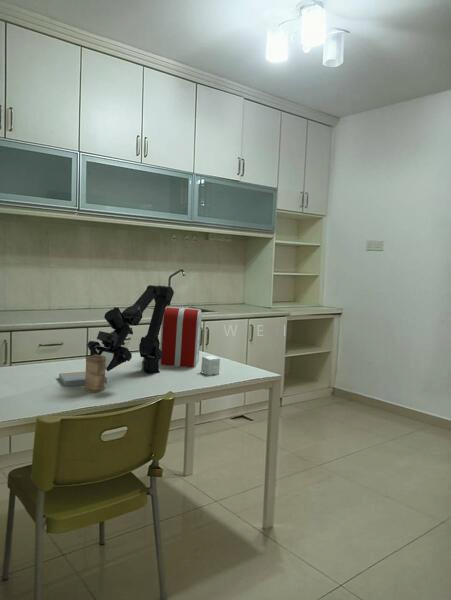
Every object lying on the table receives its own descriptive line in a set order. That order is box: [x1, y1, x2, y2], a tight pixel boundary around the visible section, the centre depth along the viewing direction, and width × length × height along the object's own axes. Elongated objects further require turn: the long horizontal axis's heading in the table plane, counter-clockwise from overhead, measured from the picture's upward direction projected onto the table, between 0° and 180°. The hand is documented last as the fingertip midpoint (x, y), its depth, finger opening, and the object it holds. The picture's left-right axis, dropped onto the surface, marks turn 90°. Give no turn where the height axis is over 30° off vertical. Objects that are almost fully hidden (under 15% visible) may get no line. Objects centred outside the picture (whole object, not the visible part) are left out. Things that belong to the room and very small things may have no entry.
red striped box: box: [159, 306, 203, 369], centre depth 223 cm, size 16×18×27 cm
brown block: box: [84, 354, 106, 394], centre depth 172 cm, size 5×5×13 cm
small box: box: [100, 343, 114, 369], centre depth 208 cm, size 8×6×10 cm
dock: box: [58, 370, 108, 387], centre depth 184 cm, size 16×12×2 cm
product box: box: [200, 355, 221, 376], centre depth 208 cm, size 6×6×7 cm
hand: (97, 368), depth 173 cm, fingers open, 9 cm apart
